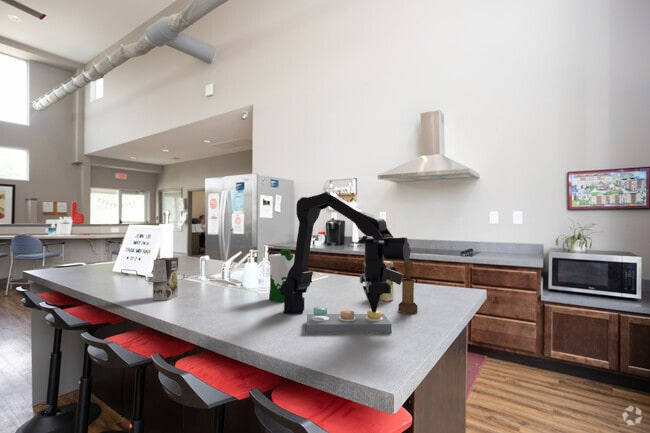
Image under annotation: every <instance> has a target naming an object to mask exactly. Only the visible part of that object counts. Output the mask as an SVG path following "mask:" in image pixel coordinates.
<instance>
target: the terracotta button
mask: <svg viewBox="0 0 650 433" xmlns="http://www.w3.org/2000/svg"><path fill="white" fill-rule="evenodd" d="M340 314H341V318H342V319H353V318H354V314H355V311H354V310H349V309H343V310H341V311H340Z"/></svg>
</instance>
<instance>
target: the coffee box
mask: <svg viewBox="0 0 650 433" xmlns="http://www.w3.org/2000/svg"><path fill="white" fill-rule="evenodd" d="M152 270H153V273H152V274H153V275H152V276H153V278H152V301H170V300H171V299H174V298H177V297H178V296H179V257H161V258H155V259H153V269H152Z"/></svg>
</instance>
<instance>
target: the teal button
mask: <svg viewBox="0 0 650 433" xmlns="http://www.w3.org/2000/svg"><path fill="white" fill-rule="evenodd" d="M313 314H314V315H317V316H323V315H327V314H328V308H327V307H326V306H315V307H313Z"/></svg>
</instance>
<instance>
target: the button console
mask: <svg viewBox="0 0 650 433" xmlns="http://www.w3.org/2000/svg"><path fill="white" fill-rule="evenodd" d="M305 324H306V331H305V332H306V334H392V329H393V328H392V327H393V326H392V323H391V322H390V320H389V319H388V317H387V316H386V314H385V313H381V318H380V319H370V318H368V317H367V313H354V318H353V319H342V318H341V313H327V315H323V316H317V315H314V313H307V314H306V323H305Z"/></svg>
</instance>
